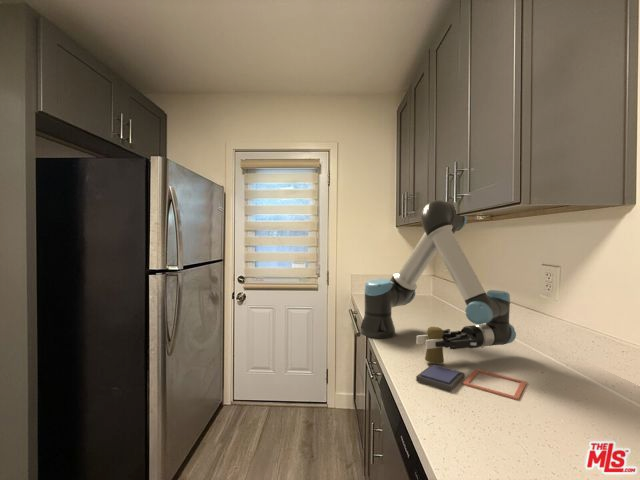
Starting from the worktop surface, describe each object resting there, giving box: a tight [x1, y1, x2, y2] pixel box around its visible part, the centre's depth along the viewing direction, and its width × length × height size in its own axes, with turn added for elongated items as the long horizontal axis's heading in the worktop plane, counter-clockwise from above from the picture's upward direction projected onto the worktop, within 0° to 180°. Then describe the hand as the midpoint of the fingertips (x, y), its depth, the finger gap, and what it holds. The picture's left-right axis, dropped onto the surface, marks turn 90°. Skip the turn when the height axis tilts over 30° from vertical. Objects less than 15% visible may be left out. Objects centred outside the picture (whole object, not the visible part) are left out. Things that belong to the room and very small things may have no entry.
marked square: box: [462, 368, 528, 401], centre depth 97 cm, size 14×14×1 cm
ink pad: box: [415, 364, 465, 393], centre depth 99 cm, size 12×10×2 cm
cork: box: [424, 326, 445, 365], centre depth 111 cm, size 6×6×11 cm
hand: (421, 342), depth 109 cm, fingers closed on cork, 4 cm apart
